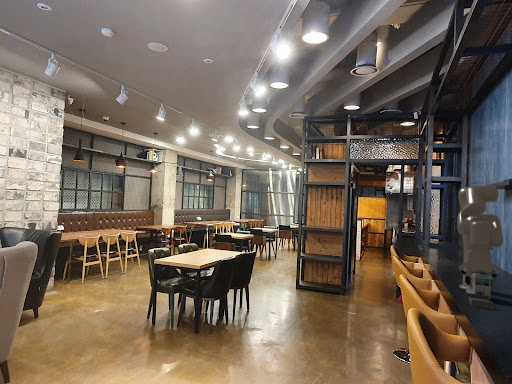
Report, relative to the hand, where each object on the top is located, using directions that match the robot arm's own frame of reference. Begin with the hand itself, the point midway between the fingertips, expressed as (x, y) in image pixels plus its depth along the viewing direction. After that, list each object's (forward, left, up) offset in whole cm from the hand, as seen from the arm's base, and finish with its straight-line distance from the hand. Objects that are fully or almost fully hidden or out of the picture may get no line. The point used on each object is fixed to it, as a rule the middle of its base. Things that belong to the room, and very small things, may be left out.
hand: (478, 285), depth 163 cm
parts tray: (+15, 0, -5) cm, 16 cm away
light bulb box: (0, 0, -5) cm, 5 cm away
